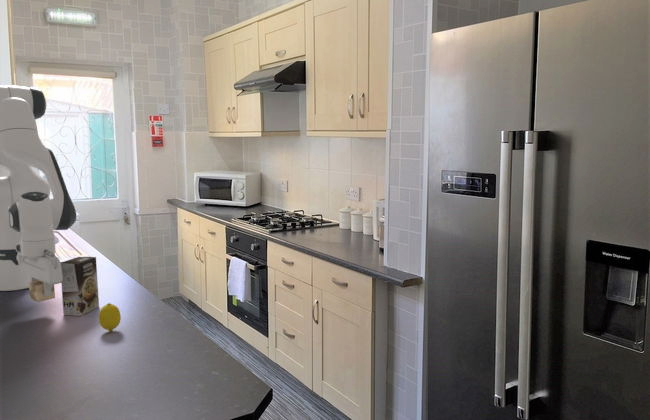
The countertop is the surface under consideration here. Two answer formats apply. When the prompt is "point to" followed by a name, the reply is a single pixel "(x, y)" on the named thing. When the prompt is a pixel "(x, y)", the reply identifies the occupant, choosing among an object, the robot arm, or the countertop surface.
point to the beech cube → (39, 291)
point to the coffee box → (79, 286)
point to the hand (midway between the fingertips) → (42, 293)
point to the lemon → (109, 317)
